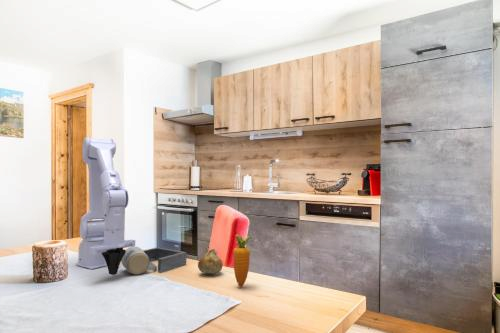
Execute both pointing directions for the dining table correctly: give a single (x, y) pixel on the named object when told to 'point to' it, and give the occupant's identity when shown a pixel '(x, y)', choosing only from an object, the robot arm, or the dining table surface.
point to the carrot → (241, 260)
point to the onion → (210, 263)
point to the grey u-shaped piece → (166, 258)
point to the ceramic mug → (137, 261)
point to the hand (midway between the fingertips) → (113, 274)
